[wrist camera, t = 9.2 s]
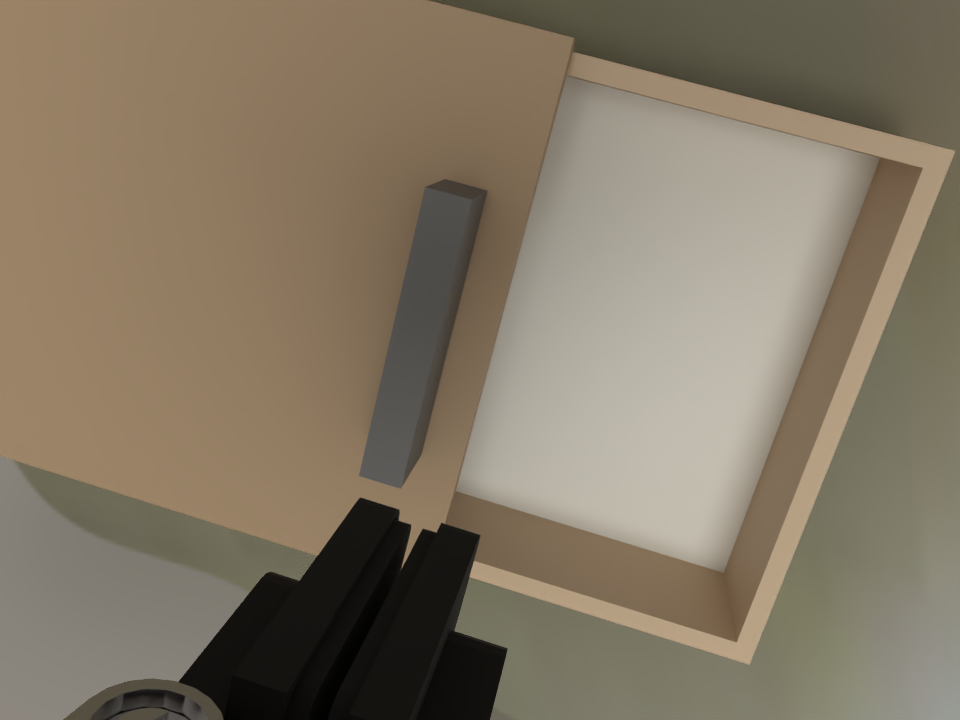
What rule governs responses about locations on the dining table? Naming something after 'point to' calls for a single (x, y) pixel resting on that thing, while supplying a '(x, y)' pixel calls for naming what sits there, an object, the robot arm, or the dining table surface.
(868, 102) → the dining table surface
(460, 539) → the robot arm
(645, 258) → the lidded box
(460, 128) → the lid
